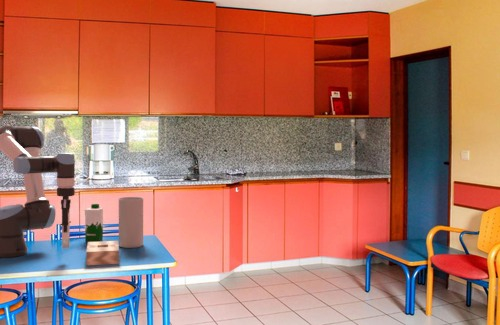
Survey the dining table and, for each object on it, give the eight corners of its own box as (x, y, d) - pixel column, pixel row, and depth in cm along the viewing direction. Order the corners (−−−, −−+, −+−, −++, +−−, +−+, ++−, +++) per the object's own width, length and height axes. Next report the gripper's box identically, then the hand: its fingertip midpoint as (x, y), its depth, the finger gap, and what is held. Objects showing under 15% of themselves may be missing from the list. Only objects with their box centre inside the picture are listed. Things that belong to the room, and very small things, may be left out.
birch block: (86, 265, 222) (86, 252, 222) (88, 254, 243) (88, 242, 243) (118, 263, 226) (118, 250, 226) (117, 252, 247) (117, 240, 247)
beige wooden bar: (61, 248, 227) (61, 213, 226) (62, 247, 230) (62, 212, 229) (69, 248, 227) (69, 213, 226) (69, 246, 231) (69, 212, 230)
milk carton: (104, 239, 278) (104, 203, 277) (98, 243, 269) (98, 206, 268) (89, 239, 278) (88, 203, 278) (82, 242, 269) (82, 205, 269)
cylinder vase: (141, 242, 272) (141, 196, 270) (144, 247, 260) (144, 199, 259) (117, 244, 267) (117, 197, 266) (120, 249, 256) (120, 200, 254)
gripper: (73, 189, 220) (73, 241, 222) (75, 185, 236) (75, 234, 237) (55, 189, 218) (55, 242, 219) (58, 185, 234) (58, 235, 235)
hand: (65, 238), depth 228 cm, fingers closed on beige wooden bar, 3 cm apart
